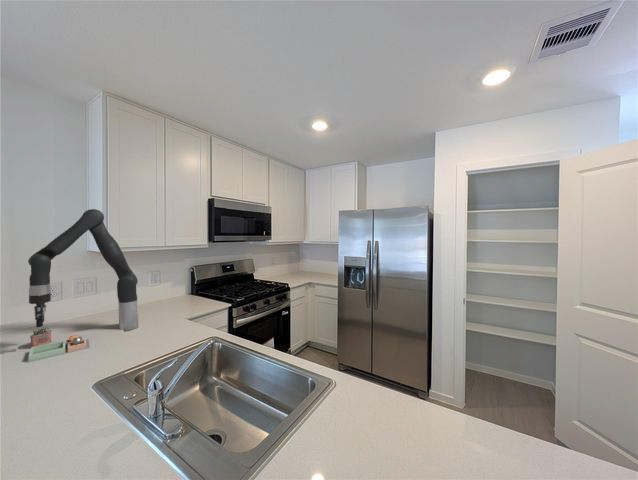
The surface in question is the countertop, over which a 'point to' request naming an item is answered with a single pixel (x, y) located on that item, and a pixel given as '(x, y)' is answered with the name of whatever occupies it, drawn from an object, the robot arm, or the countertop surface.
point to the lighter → (41, 337)
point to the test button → (72, 338)
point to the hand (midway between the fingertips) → (40, 324)
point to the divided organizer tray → (55, 349)
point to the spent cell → (76, 340)
